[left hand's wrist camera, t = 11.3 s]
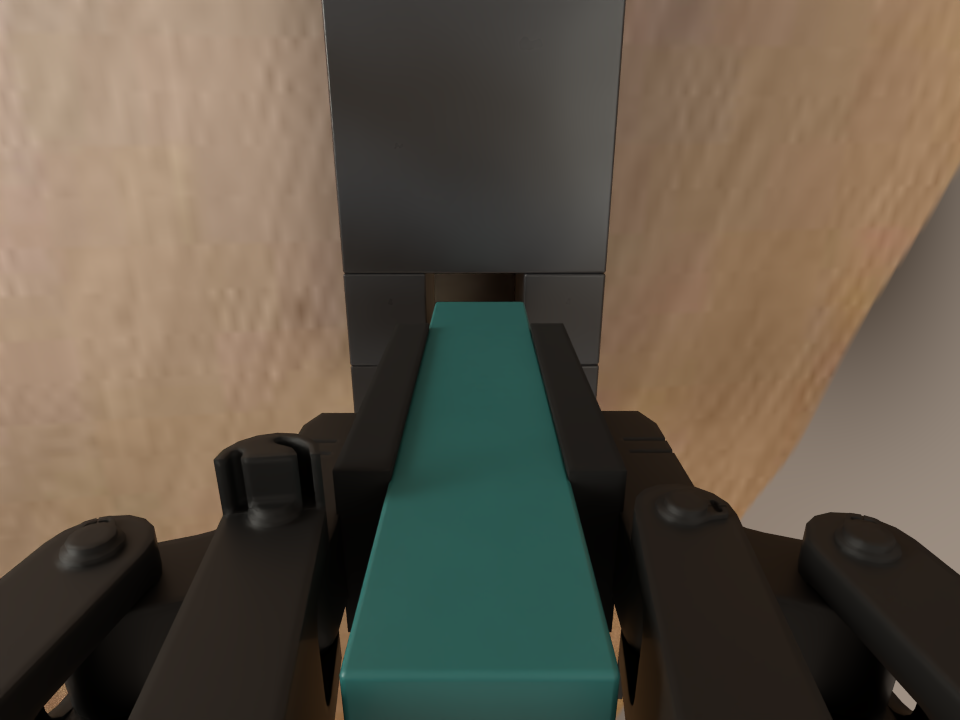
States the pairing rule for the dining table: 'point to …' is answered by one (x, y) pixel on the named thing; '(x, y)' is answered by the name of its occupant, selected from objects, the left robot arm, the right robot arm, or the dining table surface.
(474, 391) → the peg
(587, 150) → the peg board
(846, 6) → the dining table surface
